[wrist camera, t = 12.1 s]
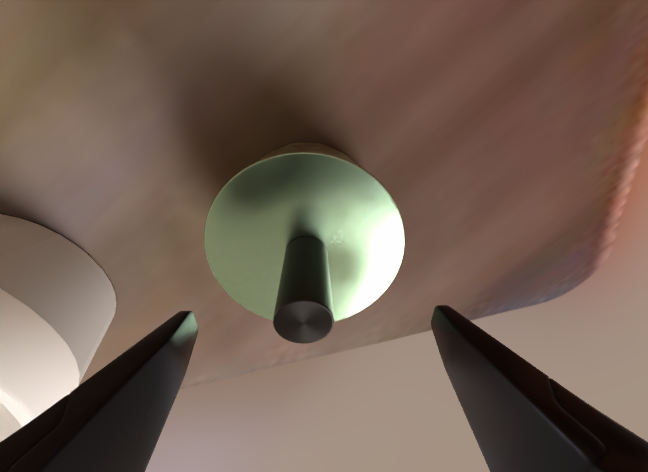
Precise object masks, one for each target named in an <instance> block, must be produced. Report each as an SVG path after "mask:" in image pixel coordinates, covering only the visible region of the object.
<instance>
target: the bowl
mask: <svg viewBox="0 0 648 472" xmlns="http://www.w3.org/2000/svg"><path fill="white" fill-rule="evenodd" d="M116 305H117V304H116V296H115V292H114V289H113V287H112V284H111V282H110V280H109V279H108V277H107V276H106V274H105V273H104V271H103V270H102V269H101V267H100V266H99V265H98V264H97V263H96V262H95V261H94V260H93V259H92V258H91V257H90V256H89V255H88V254H87V253H85V252H84V251H83V250H82V249H81V248H79V247H78V246H77V245H75V244H74V243H72V242H71V241H69V240H67V239H66V238H64V237H63V236H61V235H60V234H58V233H55V232H53V231H51V230H49V229H47V228H45V227H43V226H41V225H38V224H35V223H32V222H30V221H27V220H24V219H21V218H17V217H12V216H7V215H2V214H0V442H1V441H3V440H4V439H6V438H7V437H8V436H10V435H11V434H13V433H14V432H16V431H17V430H19V429H20V428H22V427H23V426H25V425H26V424H27V423H29V422H30V421H32V420H33V419H34V418H36V417H37V416H39V415H40V414H41V413H43V412H44V411H45V410H47V409H48V408H50V407H51V406H52V405H54V404H55V403H56V402H58V401H59V400H61V399H62V398H63V397H65V396H66V395H68V394H69V395H70V392H71V391H73V390H74V389H76V388H77V387H78V385H79V383H80V381H81V379H82V378H83V376H84V374H85V372H86V370H87V368H88V366H89V364H90V362H91V360H92V358H93V356H94V354H95V352H96V350H97V348H98V346H99V344H100V342H101V340H102V338H103V337H104V335H105V333H106V331H107V329H108V327H109V325H110V323H111V321H112V319H113V317H114V315H115V310H116Z"/></svg>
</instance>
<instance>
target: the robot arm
mask: <svg viewBox="0 0 648 472" xmlns="http://www.w3.org/2000/svg"><path fill="white" fill-rule="evenodd" d="M431 327H432V330H433V333H434V336H435V339H436V342H437V345H438V348H439V352H440V355H441V358H442V360H443V364H444V367H445V369H446V372H447V374H448V376H449V379H450V381H451V383H452V385H453V388H454V390H455V392H456V394H457V397H458V399H459V401H460V403H461V406H462V408H463V410H464V413H465V415H466V417H467V419H468V422H469V424H470V426H471V429H472V431H473V433H474V435H475V438H476V440H477V442H478V445H479V447H480V449H481V451H482V454H483V456H484V458H485V460H486V463H487V465H488V467H489V470H490V472H648V442H646V441H645V440H644V439H642V438H640V437H639V436H637V435H635V434H634V433H632V432H631V431H629V430H628V429H626V428H625V427H623V426H621V425H620V424H618V423H617V422H615V421H614V420H612V419H610V418H609V417H607V416H606V415H604V414H602V413H601V412H600V411H598V410H597V409H595V408H594V407H592V406H590V405H589V404H587V403H586V402H584V401H583V400H582V399H580V398H579V397H577V396H575V395H574V394H573V393H571V392H570V391H568V390H567V389H565V388H564V387H563V386H561V385H560V384H558V383H557V382H556V381H554V380H553V379H551V378H550V379H549V377H548V376H547V375H546V374H544V373H543V372H541V371H540V370H538V369H537V368H536V367H534V366H533V365H531V364H530V363H528V362H527V361H526V360H524V359H523V358H521V357H520V356H519V355H517V354H516V353H514V352H513V351H511V350H510V349H509V348H507V347H506V346H505V345H503V344H502V343H500V342H499V341H497V340H496V339H495V338H493V337H492V336H490V335H489V334H487V333H486V332H485V331H483V330H482V329H480V328H479V327H478V326H476V325H475V324H473V323H472V322H471V321H469V320H468V319H466V318H465V317H463V316H462V315H461V314H459V313H458V312H456V311H455V310H454V309H452V308H451V307H449V306H447V305H438V306H436V307H435V310H434V313H433V316H432V320H431ZM197 334H198V325H197V322H196V319H195V316H194V313H193V312H192V311H180V312H178V313H177V314H176V315H174V316H173V317H171V318H170V319H169V320H167V321H166V322H165V323H163V324H162V325H161V326H159V327H158V328H157V329H155V330H154V331H153V332H151V333H150V334H149V335H147V336H146V337H144V338H143V339H142V340H140V341H139V342H138V343H136V344H135V345H134V346H132V347H131V348H130V349H128V350H127V351H126V352H124V353H123V354H121V355H120V356H119V357H117V358H116V359H115V360H113V361H112V362H111V363H109V364H108V365H107V366H105V367H104V368H103V369H101V370H100V371H99V372H97V373H96V374H94V375H93V376H92V377H90V378H89V379H88V380H86V381H85V382H84V383H82V384H81V385H80V386H78V387H77V388H76V389H74V390H73V391H71V392H70V395H69V394H68V395H66V396H65V397H63V398H62V399H61V400H59V401H58V402H56V403H55V404H54V405H52V406H51V407H50V408H48V409H47V410H45V411H44V412H43V413H41V414H40V415H39V416H37V417H36V418H34V419H33V420H32V421H30V422H29V423H27V424H26V425H25V426H23V427H22V428H20V429H19V430H17V431H16V432H14V433H13V434H11V435H10V436H8V437H7V438H6V439H4V440H3V441H1V442H0V472H145V470H146V467H147V465H148V463H149V460H150V458H151V455H152V453H153V451H154V448H155V446H156V443H157V441H158V439H159V436H160V434H161V432H162V429H163V427H164V424H165V422H166V419H167V417H168V415H169V412H170V410H171V407H172V405H173V403H174V400H175V398H176V395H177V393H178V391H179V388H180V386H181V384H182V381H183V379H184V376H185V373H186V370H187V367H188V364H189V360H190V357H191V354H192V350H193V347H194V344H195V340H196V337H197Z"/></svg>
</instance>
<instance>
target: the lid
mask: <svg viewBox="0 0 648 472" xmlns="http://www.w3.org/2000/svg"><path fill="white" fill-rule="evenodd" d="M404 244H405V236H404V227H403V222H402V218H401V215H400V212H399V210H398V207H397V205H396V204H395V202H394V200H393V198H392V196H391V195H390V194H389V193H388V191H387V190H386V189H385V187H384V186H383V185H382V184H381V183H380V182H379V181H378V180H377V179H376V178H375V177H374V176H373V175H372V174H370V173H369V172H368V171H366V170H365V169H363V168H362V167H361V166H359V165H357V164H355V163H353V162H351V161H349V160H347V159H344V158H341V157H338V156H336V155H332V154H327V153H322V152H315V151H292V152H285V153H280V154H275V155H271V156H269V157H266V158H263V159H260V160H258V161H256V162H254V163H252V164H251V165H249V166H247V167H245V168H244V169H243V170H241V171H240V172H239V173H237V174H236V175H235V176H234V177H233V178H232V179H231V180H230V181H229V182H228V183H227V184H226V185H225V186H224V187H223V188H222V189H221V191H220V192H219V193H218V195H217V196H216V198H215V199H214V201H213V203H212V205H211V207H210V209H209V213H208V216H207V219H206V223H205V230H204V246H205V252H206V257H207V260H208V263H209V266H210V268H211V270H212V272H213V274H214V276H215V278H216V280H217V281H218V283H219V284H220V285H221V287H222V288H223V289H224V290H225V291H226V292H227V294H228V295H229V296H230V297H232V298H233V299H234V300H235V301H236V302H237V303H239V304H240V305H242V306H243V307H244V308H246V309H248V310H249V311H251V312H253V313H255V314H257V315H259V316H262V317H264V318H266V319H270V320H273V325H274V328H275V330H276V332H277V333H278V334H279V335H280V336H281V337H283V338H284V339H286V340H288V341H291V342H294V343H312V342H316V341H319V340H321V339H322V338H324V337H325V336H327V335H328V334H329V333H330V331H331V329H332V327H333V324H334V321H338V320H341V319H344V318H347V317H349V316H352V315H354V314H356V313H358V312H360V311H361V310H363V309H365V308H366V307H368V306H369V305H370V304H372V303H373V302H374V301H375V300H377V299H378V298H379V297H380V296H381V295H382V294H383V293H384V292H385V290H386V289H387V288H388V287H389V285H390V284H391V283H392V281H393V279H394V277H395V276H396V274H397V272H398V269H399V267H400V265H401V261H402V257H403V253H404Z"/></svg>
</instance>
